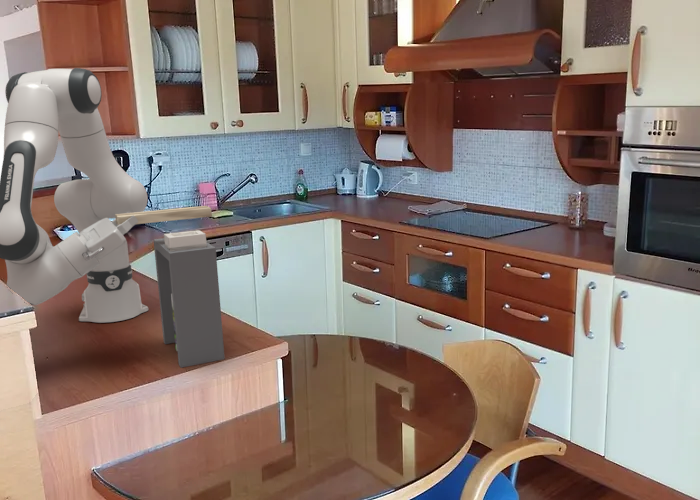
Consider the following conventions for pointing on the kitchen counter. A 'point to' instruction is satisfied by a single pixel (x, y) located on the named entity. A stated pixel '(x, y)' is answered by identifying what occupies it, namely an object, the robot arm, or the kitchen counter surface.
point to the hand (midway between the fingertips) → (134, 216)
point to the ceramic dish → (185, 240)
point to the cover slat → (166, 215)
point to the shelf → (190, 302)
